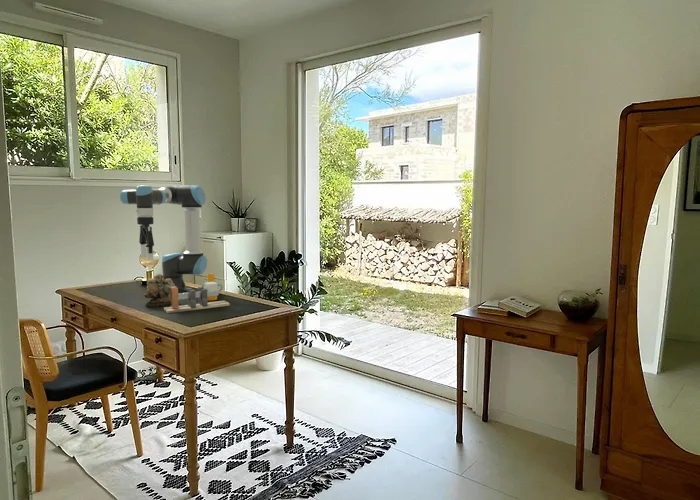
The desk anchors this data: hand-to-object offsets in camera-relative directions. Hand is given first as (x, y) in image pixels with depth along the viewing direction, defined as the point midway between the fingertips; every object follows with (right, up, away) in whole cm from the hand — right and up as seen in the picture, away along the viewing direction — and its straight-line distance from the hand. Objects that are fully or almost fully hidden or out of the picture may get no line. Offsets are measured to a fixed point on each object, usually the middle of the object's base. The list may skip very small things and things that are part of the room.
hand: (147, 258), depth 244 cm
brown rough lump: (+1, -26, +16) cm, 30 cm away
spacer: (+29, -17, +13) cm, 36 cm away
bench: (+22, -26, +9) cm, 35 cm away
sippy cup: (+25, -24, +29) cm, 45 cm away
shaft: (+22, -24, +9) cm, 34 cm away
